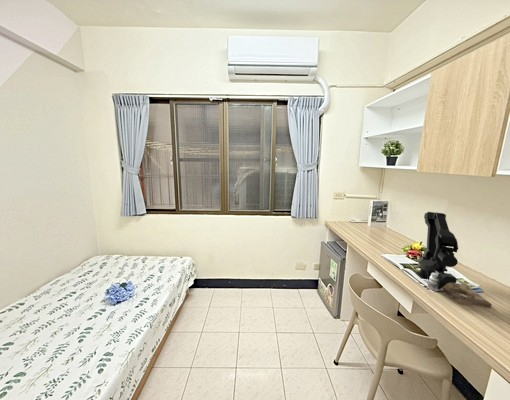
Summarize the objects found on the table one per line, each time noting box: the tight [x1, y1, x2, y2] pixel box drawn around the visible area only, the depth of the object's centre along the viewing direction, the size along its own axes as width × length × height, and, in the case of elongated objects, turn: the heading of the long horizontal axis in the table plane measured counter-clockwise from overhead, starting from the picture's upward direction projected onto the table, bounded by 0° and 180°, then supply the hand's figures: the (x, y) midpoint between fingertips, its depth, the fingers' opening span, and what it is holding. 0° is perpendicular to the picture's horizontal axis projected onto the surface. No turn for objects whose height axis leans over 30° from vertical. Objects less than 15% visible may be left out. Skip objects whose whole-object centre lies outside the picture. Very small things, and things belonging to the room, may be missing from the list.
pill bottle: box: [426, 272, 439, 292], centre depth 117 cm, size 5×5×8 cm
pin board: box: [441, 282, 493, 309], centre depth 113 cm, size 16×14×2 cm
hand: (433, 284), depth 117 cm, fingers open, 7 cm apart
